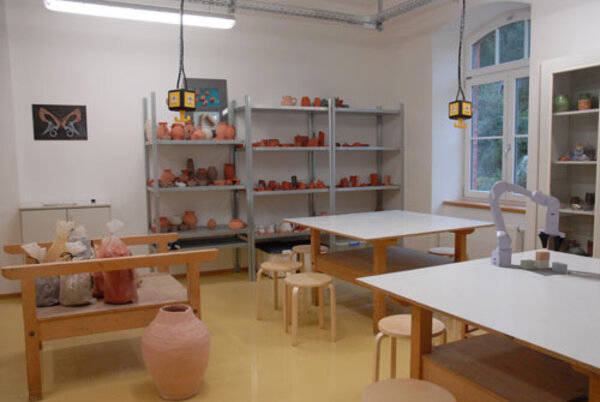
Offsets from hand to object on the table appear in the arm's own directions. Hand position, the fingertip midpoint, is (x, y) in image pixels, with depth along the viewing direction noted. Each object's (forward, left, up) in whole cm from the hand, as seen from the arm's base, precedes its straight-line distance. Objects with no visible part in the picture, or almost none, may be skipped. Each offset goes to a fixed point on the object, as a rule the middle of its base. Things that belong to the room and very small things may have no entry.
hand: (550, 249), depth 244 cm
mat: (-5, -1, -10) cm, 12 cm away
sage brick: (-9, +5, -10) cm, 14 cm away
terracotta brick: (-1, +4, -6) cm, 7 cm away
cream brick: (-1, +4, -10) cm, 11 cm away
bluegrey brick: (+1, -5, -10) cm, 11 cm away
